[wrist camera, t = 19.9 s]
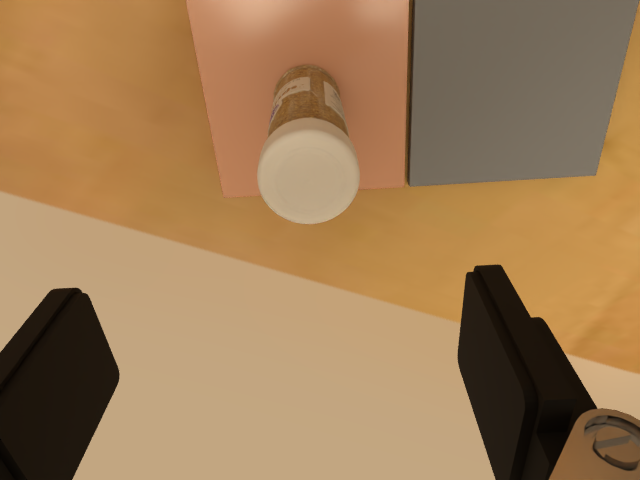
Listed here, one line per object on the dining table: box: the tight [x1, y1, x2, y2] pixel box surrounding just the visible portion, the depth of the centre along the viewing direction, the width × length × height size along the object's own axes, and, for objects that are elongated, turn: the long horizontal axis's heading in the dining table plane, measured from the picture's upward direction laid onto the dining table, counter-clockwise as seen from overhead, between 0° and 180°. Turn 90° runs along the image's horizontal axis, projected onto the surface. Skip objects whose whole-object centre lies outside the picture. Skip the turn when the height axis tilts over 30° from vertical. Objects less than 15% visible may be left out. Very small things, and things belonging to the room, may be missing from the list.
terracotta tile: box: [186, 0, 409, 198], centre depth 33 cm, size 14×14×1 cm
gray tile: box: [408, 0, 639, 187], centre depth 32 cm, size 14×14×1 cm
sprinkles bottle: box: [257, 65, 360, 224], centre depth 26 cm, size 5×5×13 cm
